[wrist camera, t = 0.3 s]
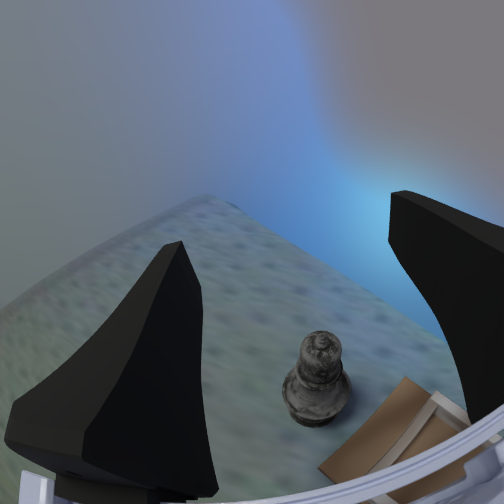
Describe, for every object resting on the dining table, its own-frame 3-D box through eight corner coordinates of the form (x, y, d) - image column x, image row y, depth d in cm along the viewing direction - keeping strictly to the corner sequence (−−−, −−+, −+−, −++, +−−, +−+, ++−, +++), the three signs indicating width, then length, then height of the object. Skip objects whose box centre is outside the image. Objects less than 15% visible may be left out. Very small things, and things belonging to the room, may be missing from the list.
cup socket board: (516, 462, 12) (533, 454, 10) (446, 562, 7) (461, 565, 5) (402, 380, 24) (411, 366, 22) (317, 468, 19) (319, 464, 17)
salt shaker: (279, 427, 23) (266, 373, 15) (289, 373, 27) (281, 296, 20) (343, 431, 22) (370, 378, 14) (347, 376, 26) (367, 299, 18)
